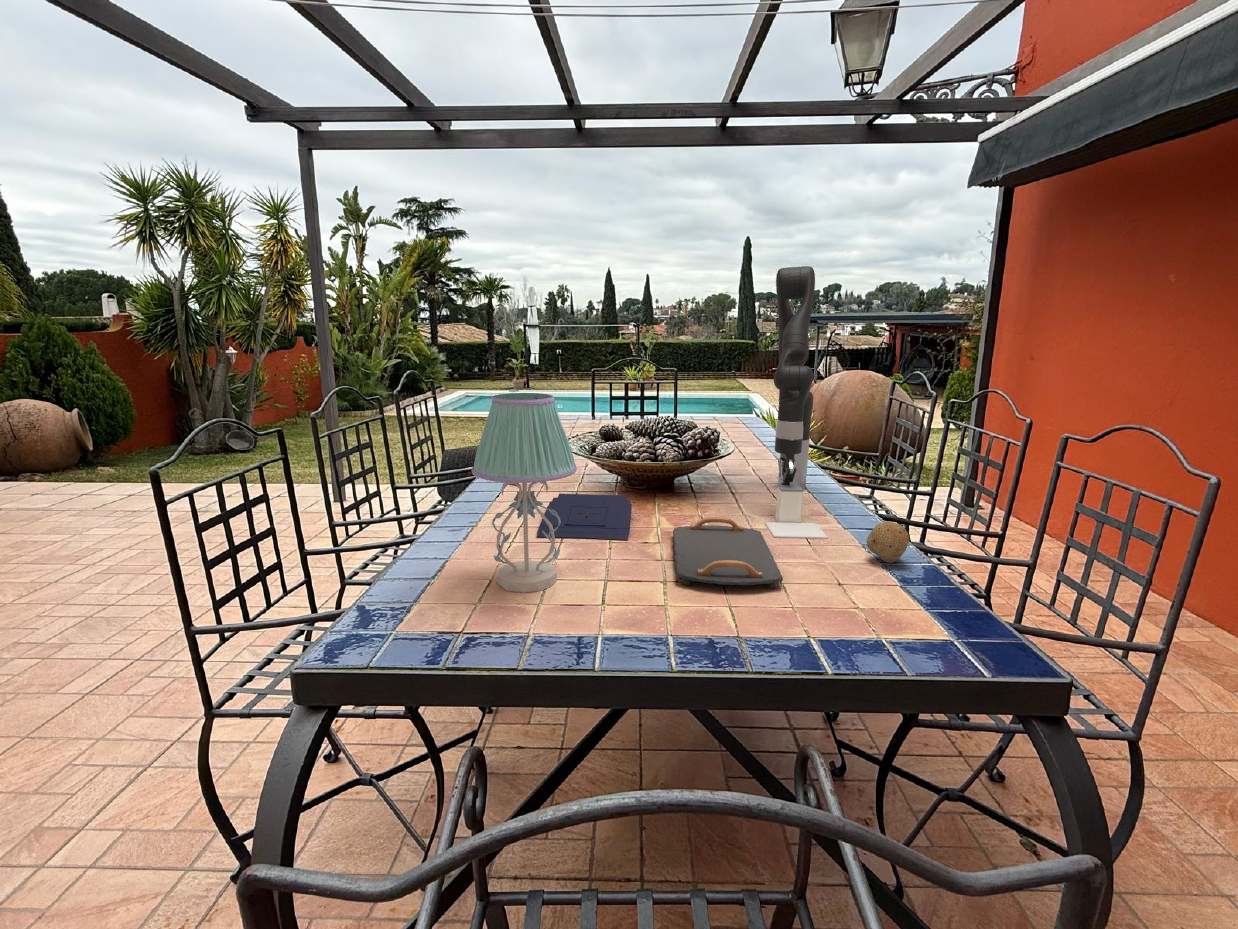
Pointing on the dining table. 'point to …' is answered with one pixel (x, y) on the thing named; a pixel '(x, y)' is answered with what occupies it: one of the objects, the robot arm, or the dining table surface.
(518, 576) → the table lamp
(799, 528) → the mat
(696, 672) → the dining table surface
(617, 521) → the dark blue flat slab
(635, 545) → the dining table surface
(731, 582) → the serving board
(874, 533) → the potato
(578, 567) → the dining table surface
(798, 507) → the block
